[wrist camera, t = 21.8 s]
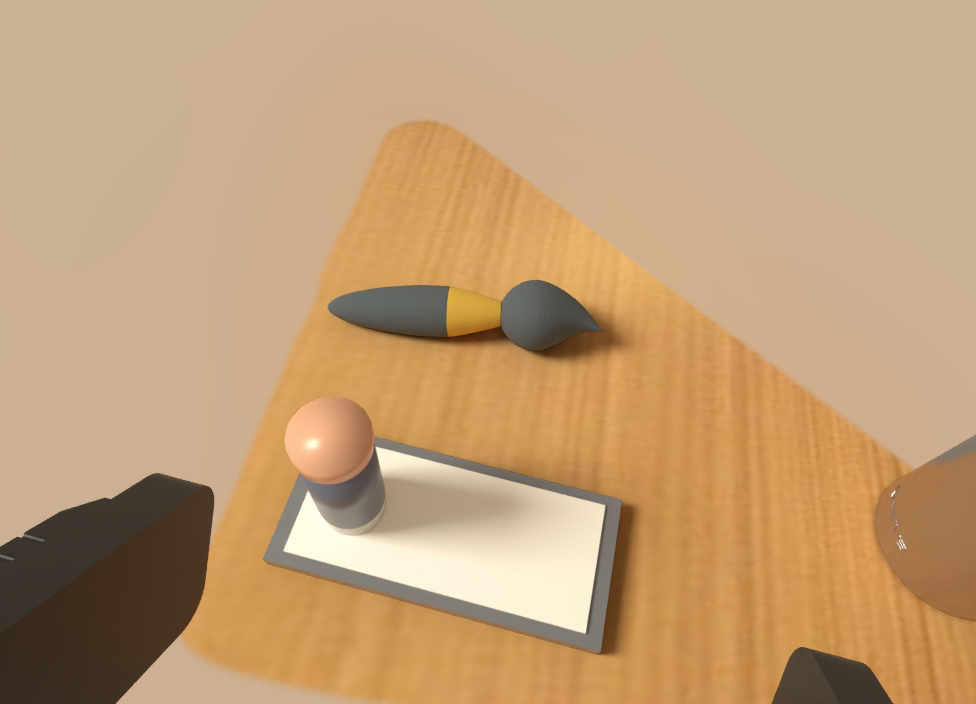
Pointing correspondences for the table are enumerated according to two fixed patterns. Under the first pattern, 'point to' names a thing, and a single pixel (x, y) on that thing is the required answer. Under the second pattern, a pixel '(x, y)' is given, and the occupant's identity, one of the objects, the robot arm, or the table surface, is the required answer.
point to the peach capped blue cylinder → (338, 463)
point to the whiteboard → (468, 546)
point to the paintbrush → (469, 312)
